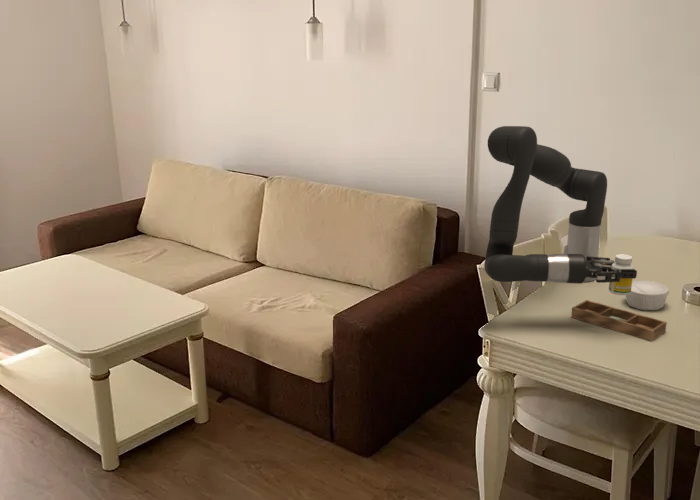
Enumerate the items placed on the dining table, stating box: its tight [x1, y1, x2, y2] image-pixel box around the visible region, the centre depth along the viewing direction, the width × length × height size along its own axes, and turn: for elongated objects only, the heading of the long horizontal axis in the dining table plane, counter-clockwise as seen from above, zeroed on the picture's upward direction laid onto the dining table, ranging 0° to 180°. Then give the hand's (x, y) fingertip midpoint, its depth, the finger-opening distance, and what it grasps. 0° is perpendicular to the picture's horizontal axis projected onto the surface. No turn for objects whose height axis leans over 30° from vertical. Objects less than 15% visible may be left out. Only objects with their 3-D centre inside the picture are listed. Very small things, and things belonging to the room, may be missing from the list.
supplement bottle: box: [608, 253, 635, 296], centre depth 182 cm, size 5×5×10 cm
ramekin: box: [625, 280, 670, 311], centre depth 198 cm, size 11×11×5 cm
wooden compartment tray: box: [570, 299, 667, 342], centre depth 185 cm, size 22×8×3 cm, turn 44°
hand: (632, 269), depth 181 cm, fingers closed on supplement bottle, 5 cm apart
